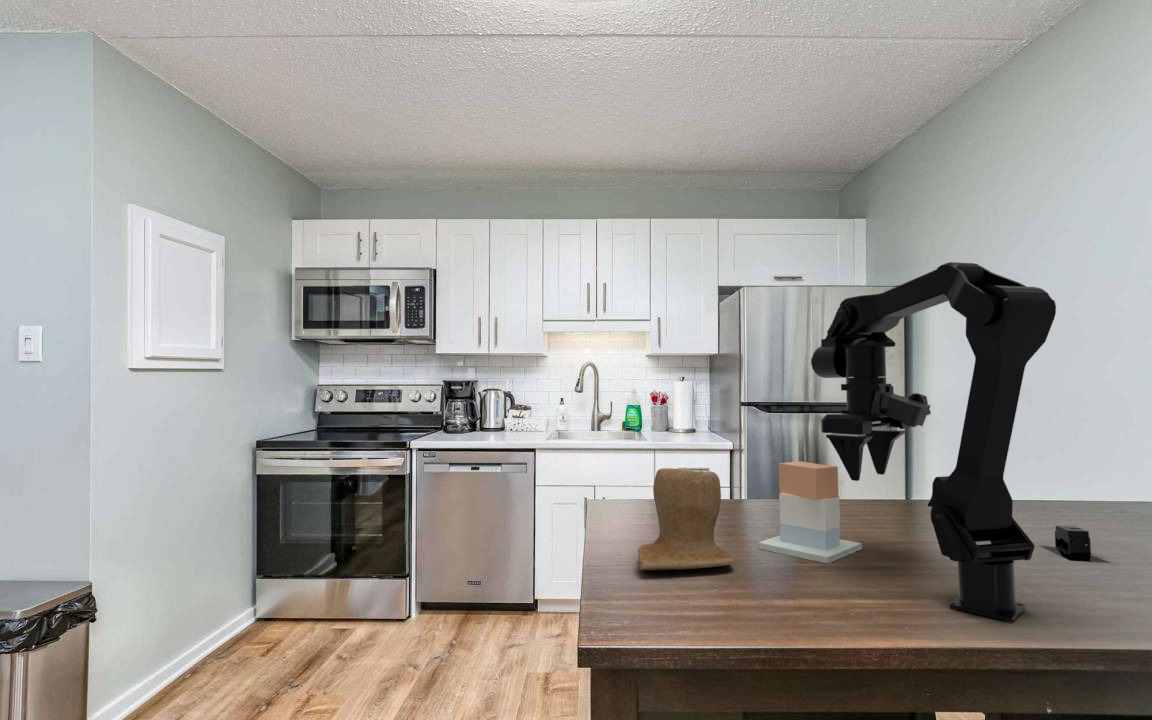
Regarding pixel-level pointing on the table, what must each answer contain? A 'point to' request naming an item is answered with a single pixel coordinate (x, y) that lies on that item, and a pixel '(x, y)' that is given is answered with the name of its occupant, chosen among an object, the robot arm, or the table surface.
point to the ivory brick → (809, 512)
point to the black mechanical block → (1073, 545)
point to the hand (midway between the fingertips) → (868, 477)
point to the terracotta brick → (808, 480)
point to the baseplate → (812, 551)
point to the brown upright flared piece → (685, 522)
